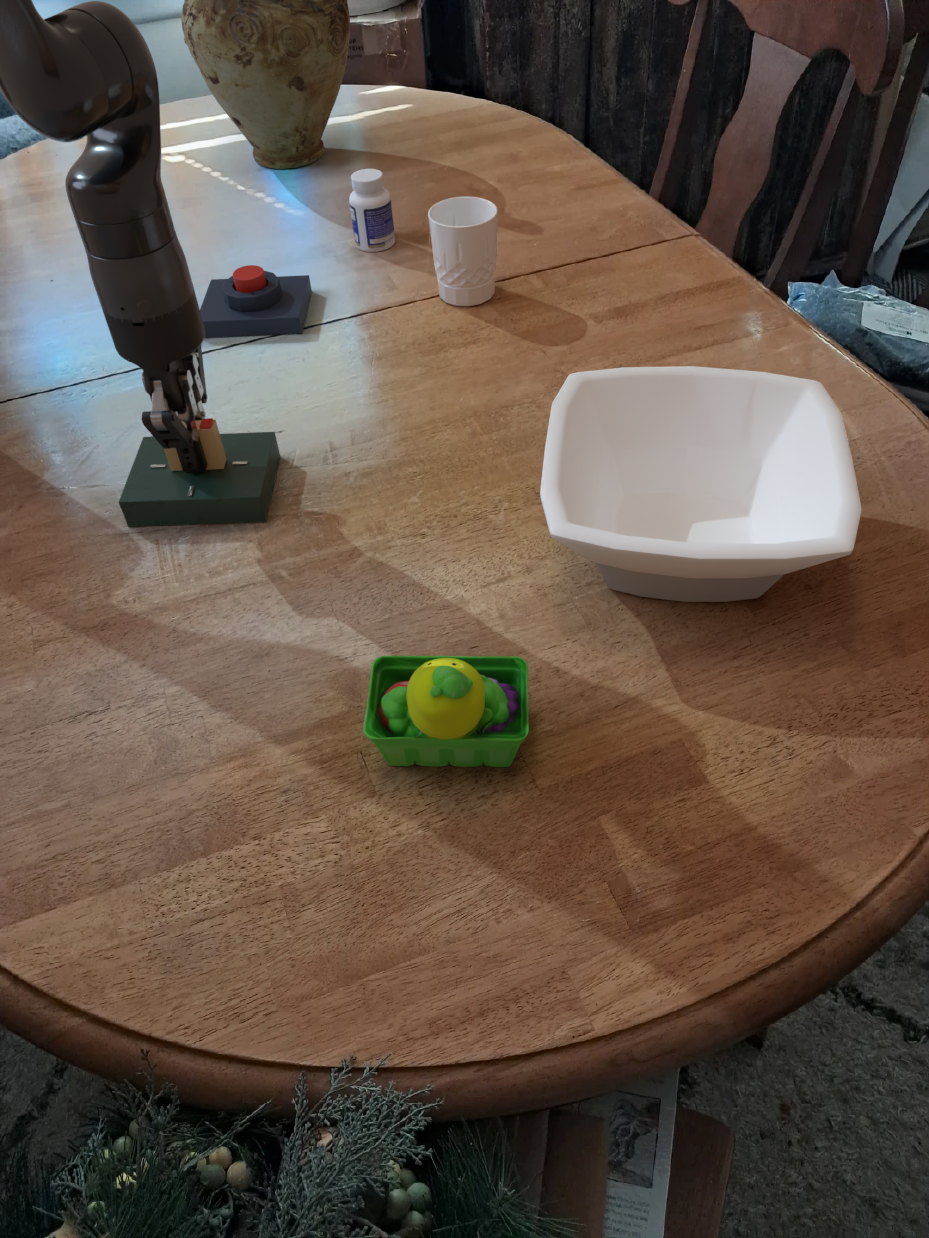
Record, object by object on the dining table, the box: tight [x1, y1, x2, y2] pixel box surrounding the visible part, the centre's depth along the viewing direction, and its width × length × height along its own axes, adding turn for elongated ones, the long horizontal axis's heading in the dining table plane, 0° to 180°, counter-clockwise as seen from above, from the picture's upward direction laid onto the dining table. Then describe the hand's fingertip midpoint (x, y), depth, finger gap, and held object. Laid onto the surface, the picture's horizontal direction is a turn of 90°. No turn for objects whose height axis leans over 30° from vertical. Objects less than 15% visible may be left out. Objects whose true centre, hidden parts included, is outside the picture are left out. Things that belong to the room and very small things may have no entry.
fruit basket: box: [362, 655, 530, 768], centre depth 69 cm, size 11×9×11 cm
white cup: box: [427, 196, 498, 307], centre depth 116 cm, size 8×8×10 cm
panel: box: [118, 431, 281, 528], centre depth 94 cm, size 13×10×3 cm
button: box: [232, 264, 267, 293], centre depth 115 cm, size 4×4×2 cm
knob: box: [164, 417, 226, 471], centre depth 91 cm, size 5×2×5 cm, turn 90°
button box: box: [199, 270, 313, 339], centre depth 117 cm, size 12×10×4 cm
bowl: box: [539, 365, 863, 603], centre depth 83 cm, size 24×25×10 cm
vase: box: [180, 0, 351, 170], centre depth 140 cm, size 23×23×30 cm
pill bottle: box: [348, 168, 396, 253], centre depth 126 cm, size 5×5×9 cm
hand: (198, 462), depth 93 cm, fingers closed on knob
